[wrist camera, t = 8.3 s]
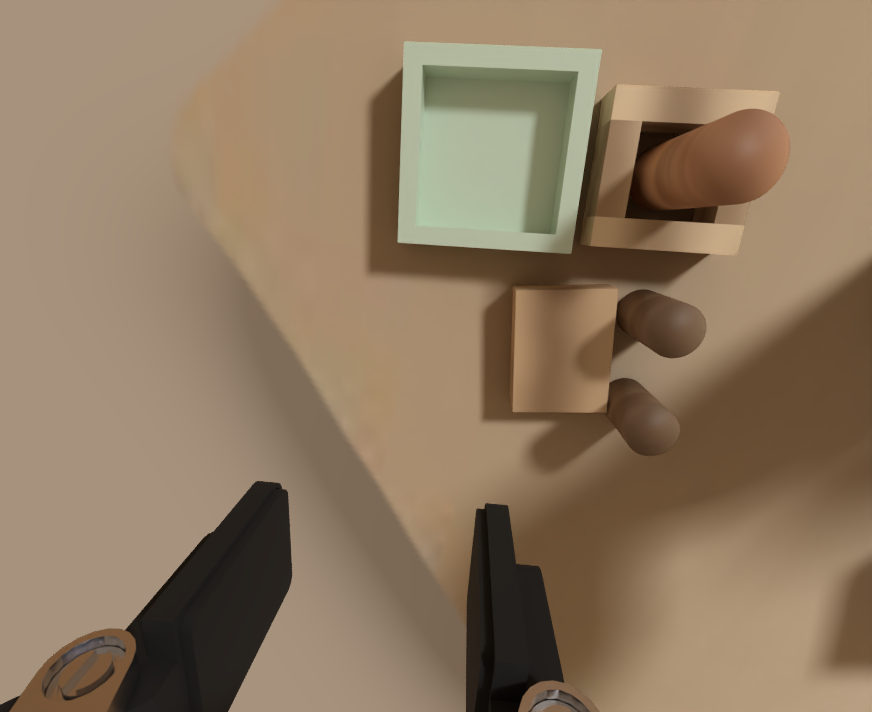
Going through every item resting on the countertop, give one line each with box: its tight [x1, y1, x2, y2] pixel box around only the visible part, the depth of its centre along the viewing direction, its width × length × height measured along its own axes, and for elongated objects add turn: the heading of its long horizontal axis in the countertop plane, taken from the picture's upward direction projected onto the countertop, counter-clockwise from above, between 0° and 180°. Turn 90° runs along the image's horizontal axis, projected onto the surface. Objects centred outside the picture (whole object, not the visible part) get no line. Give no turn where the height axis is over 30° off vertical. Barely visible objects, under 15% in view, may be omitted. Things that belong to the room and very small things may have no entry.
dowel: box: [629, 109, 790, 211], centre depth 21 cm, size 4×4×8 cm
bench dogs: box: [606, 290, 706, 456], centre depth 26 cm, size 3×9×5 cm, turn 176°
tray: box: [398, 41, 602, 254], centre depth 24 cm, size 10×10×2 cm
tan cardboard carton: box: [510, 284, 619, 413], centre depth 28 cm, size 6×8×2 cm
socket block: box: [580, 84, 780, 255], centre depth 24 cm, size 8×8×2 cm
